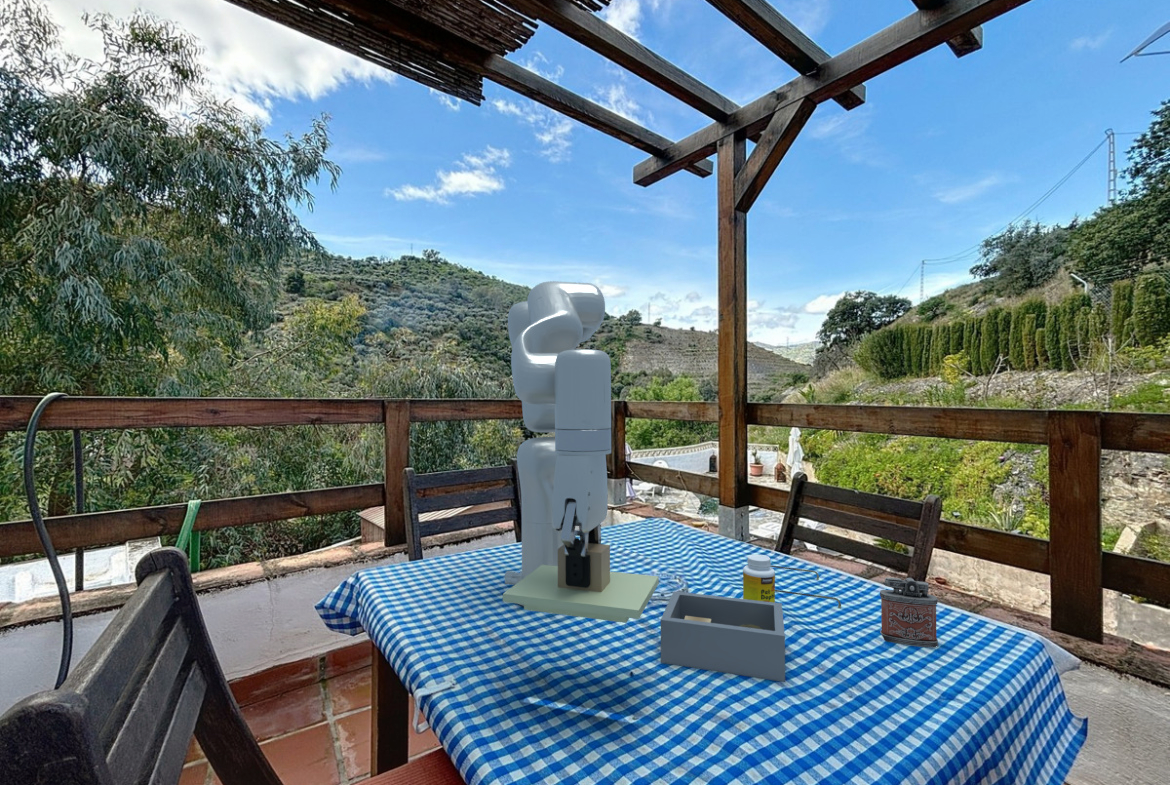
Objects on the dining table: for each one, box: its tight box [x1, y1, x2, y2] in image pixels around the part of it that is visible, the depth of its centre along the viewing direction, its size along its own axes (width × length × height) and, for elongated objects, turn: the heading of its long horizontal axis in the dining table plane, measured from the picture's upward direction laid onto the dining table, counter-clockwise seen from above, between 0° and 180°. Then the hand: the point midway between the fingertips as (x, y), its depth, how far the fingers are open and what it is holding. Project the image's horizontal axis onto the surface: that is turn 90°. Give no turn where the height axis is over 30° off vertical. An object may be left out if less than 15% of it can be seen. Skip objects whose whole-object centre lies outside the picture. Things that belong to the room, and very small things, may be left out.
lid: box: [502, 543, 660, 624], centre depth 71 cm, size 18×13×8 cm
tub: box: [660, 591, 786, 683], centre depth 80 cm, size 17×12×7 cm
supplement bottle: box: [742, 554, 776, 603], centre depth 97 cm, size 6×6×10 cm
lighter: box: [879, 576, 939, 648], centre depth 86 cm, size 8×3×10 cm, turn 71°
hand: (583, 578), depth 71 cm, fingers closed on lid, 4 cm apart
